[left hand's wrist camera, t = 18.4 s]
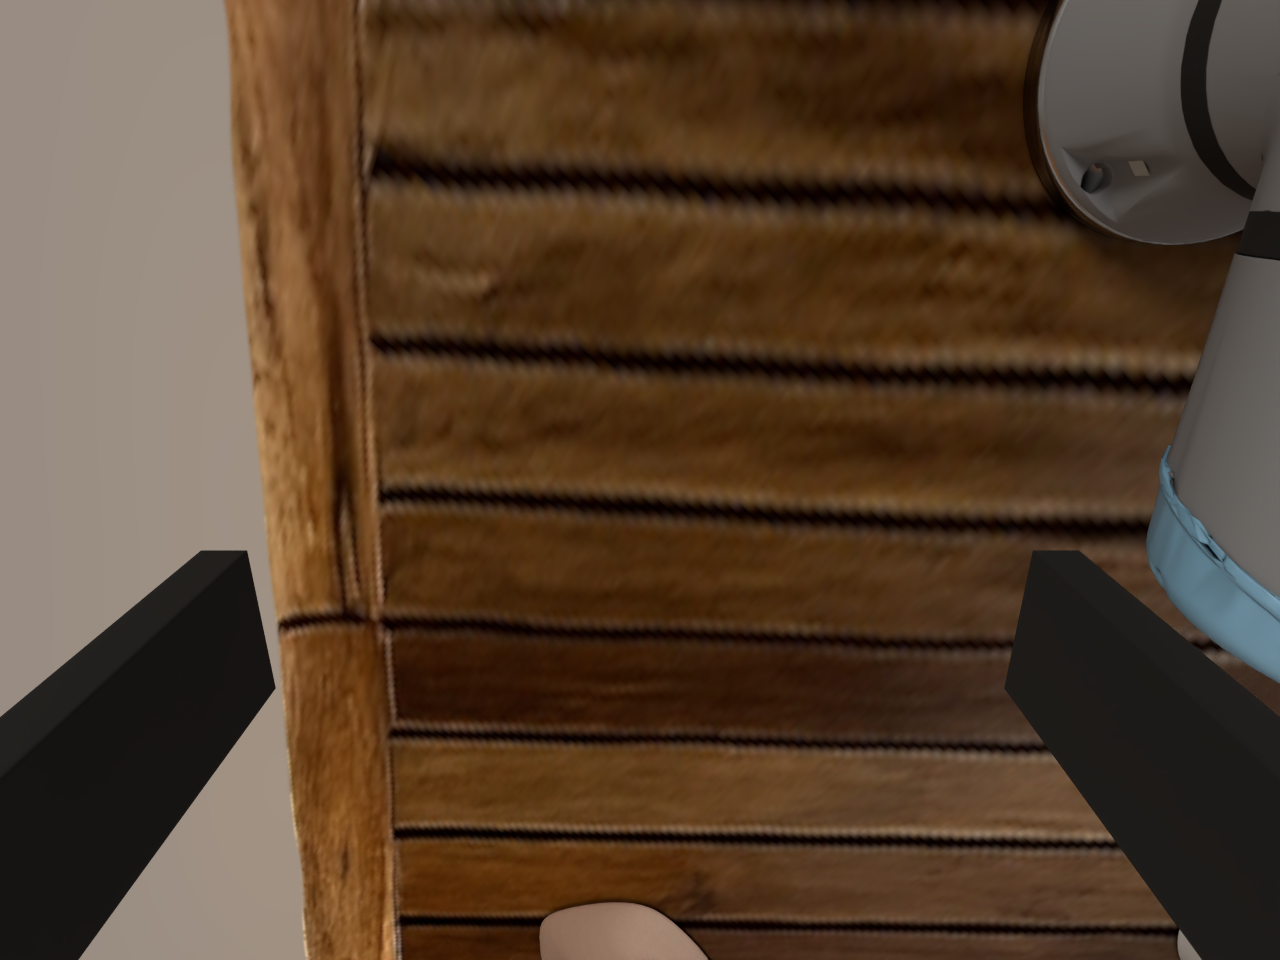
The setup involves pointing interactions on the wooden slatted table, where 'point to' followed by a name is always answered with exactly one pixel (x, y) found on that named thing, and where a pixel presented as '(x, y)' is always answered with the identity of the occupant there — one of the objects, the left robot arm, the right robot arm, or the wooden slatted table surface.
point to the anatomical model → (614, 934)
